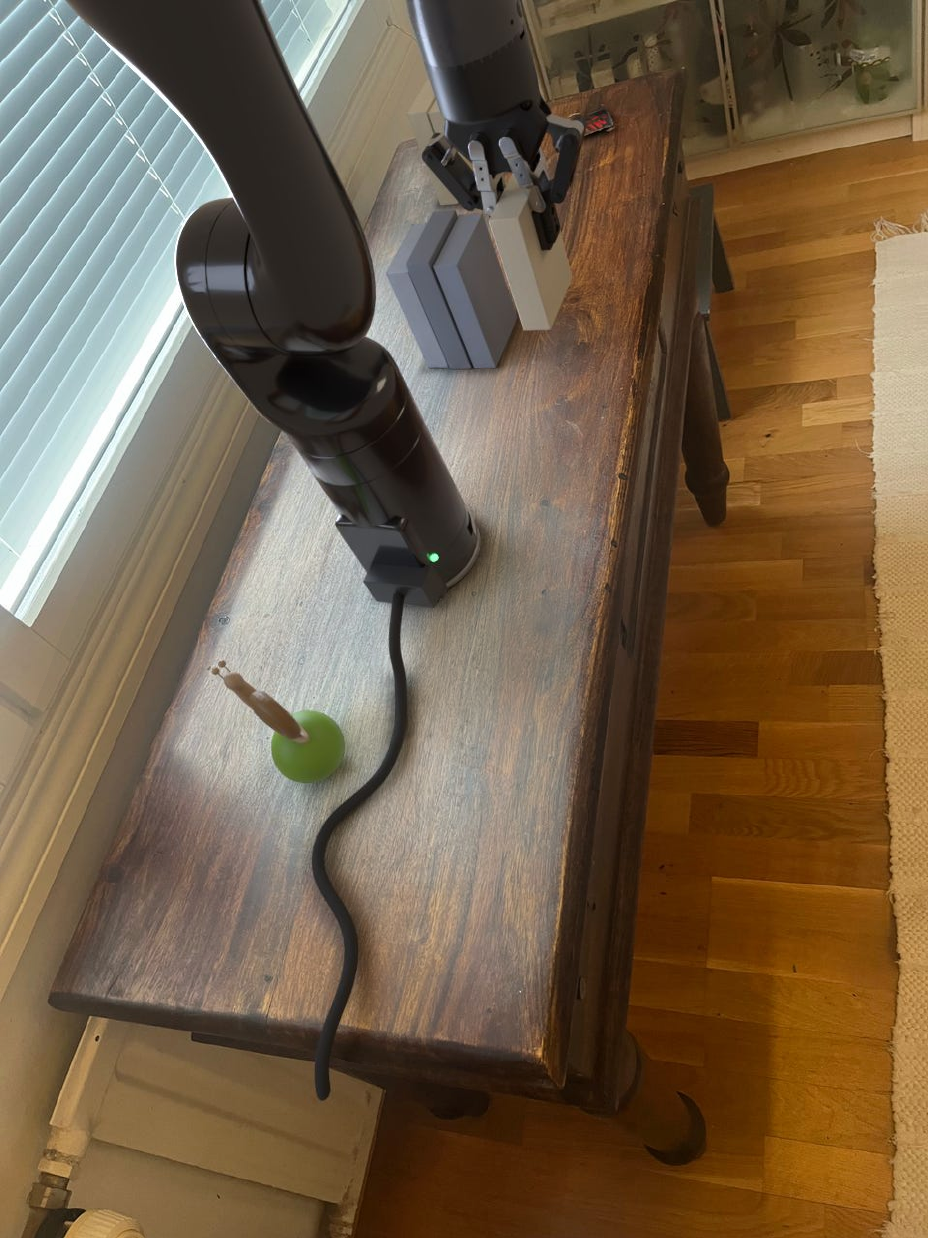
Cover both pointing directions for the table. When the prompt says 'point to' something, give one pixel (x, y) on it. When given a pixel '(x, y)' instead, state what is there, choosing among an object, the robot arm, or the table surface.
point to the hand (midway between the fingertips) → (531, 244)
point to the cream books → (430, 134)
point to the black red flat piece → (598, 121)
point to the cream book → (529, 260)
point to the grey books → (453, 291)
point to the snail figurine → (293, 733)
